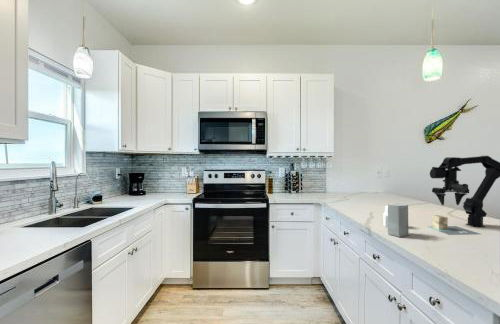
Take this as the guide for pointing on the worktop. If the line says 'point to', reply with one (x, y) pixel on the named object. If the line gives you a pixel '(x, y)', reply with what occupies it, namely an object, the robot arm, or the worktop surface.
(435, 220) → the maple block
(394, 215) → the skincare box
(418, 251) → the worktop surface
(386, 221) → the medicine bottle
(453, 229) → the mat
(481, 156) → the robot arm
